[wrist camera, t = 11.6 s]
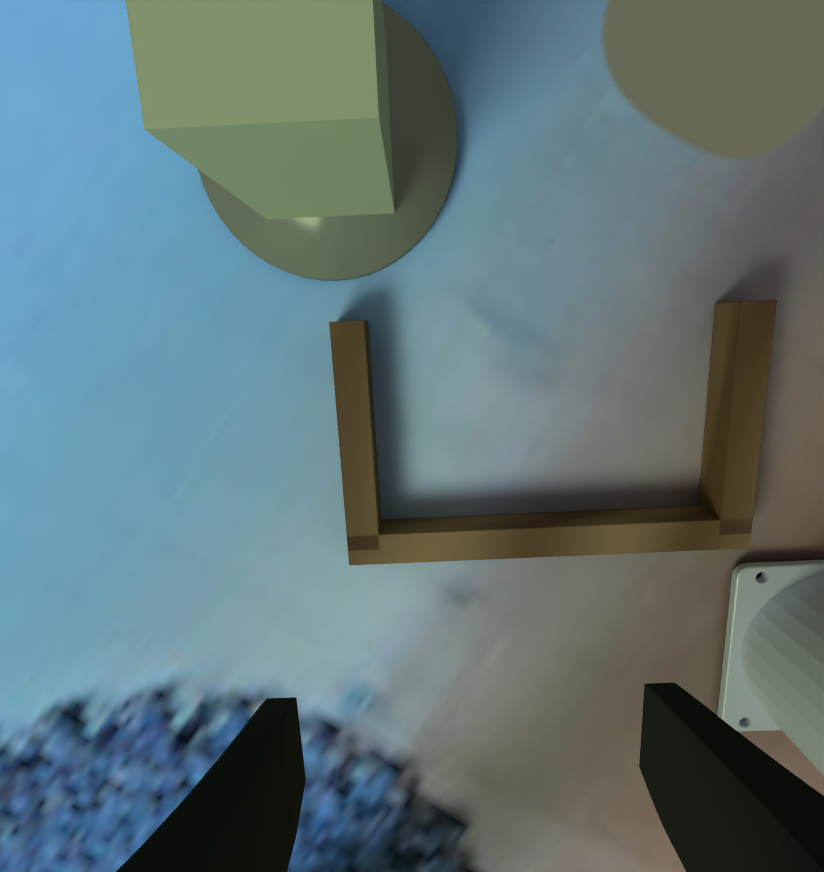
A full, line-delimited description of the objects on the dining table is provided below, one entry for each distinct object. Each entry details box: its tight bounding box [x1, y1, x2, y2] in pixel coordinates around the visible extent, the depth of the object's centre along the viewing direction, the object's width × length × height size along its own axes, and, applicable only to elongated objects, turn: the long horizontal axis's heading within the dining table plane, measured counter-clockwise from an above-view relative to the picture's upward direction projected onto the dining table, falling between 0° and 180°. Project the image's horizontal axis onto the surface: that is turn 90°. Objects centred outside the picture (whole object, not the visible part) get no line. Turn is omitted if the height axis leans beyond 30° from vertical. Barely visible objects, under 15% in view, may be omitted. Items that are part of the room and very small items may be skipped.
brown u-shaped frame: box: [329, 300, 777, 565], centre depth 19 cm, size 15×9×2 cm, turn 93°
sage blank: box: [126, 0, 395, 219], centre depth 13 cm, size 4×5×8 cm
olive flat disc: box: [198, 3, 457, 281], centre depth 17 cm, size 9×9×1 cm
